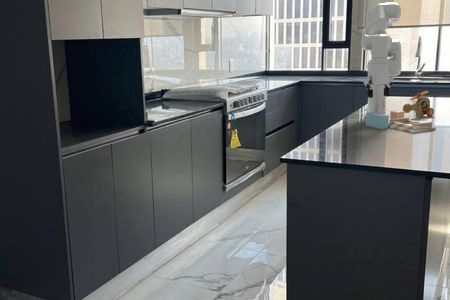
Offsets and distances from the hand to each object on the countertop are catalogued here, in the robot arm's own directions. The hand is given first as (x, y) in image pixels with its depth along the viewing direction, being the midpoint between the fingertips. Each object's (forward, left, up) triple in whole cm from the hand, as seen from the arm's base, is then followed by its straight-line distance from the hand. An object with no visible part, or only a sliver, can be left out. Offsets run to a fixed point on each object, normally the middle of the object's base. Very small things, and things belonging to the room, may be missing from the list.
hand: (378, 96), depth 241 cm
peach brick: (-3, +15, -15) cm, 21 cm away
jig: (+12, +10, -15) cm, 21 cm away
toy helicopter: (-10, +35, -15) cm, 39 cm away
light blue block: (0, 0, -15) cm, 15 cm away
